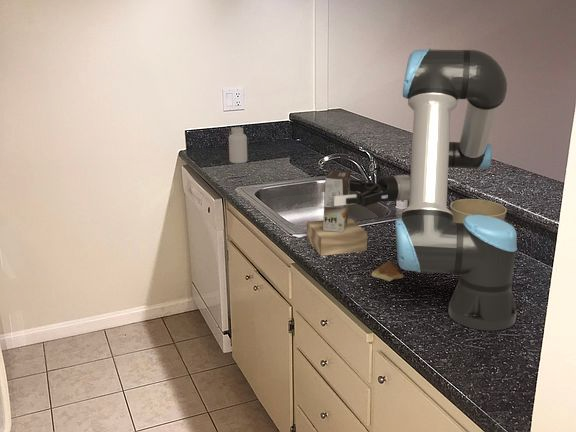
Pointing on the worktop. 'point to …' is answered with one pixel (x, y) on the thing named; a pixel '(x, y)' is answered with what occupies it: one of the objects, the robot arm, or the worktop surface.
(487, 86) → the robot arm
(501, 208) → the plant pot
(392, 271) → the shard
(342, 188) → the coffee box
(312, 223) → the maple block
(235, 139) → the pill bottle
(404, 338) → the worktop surface
